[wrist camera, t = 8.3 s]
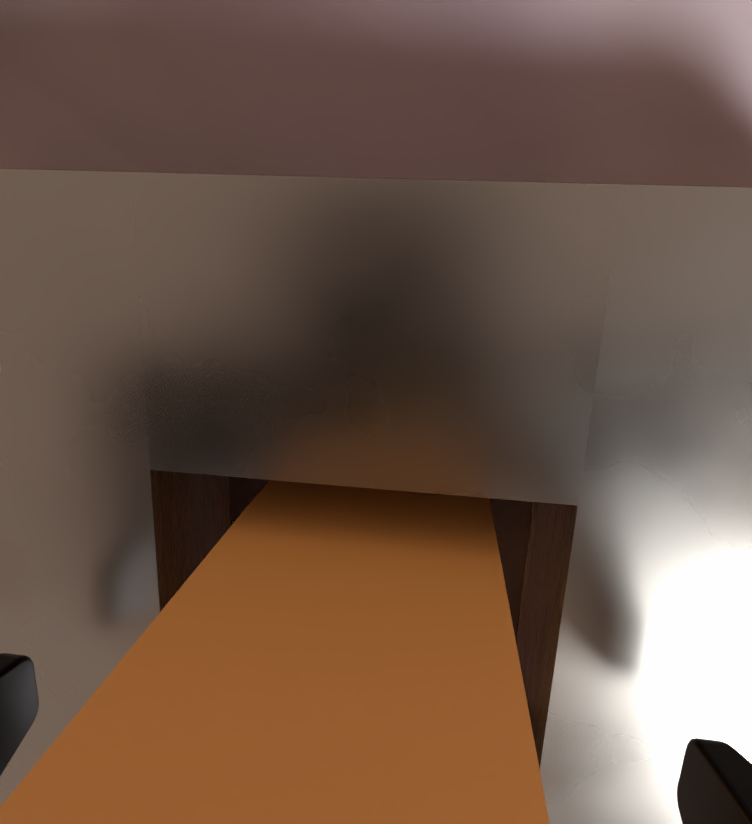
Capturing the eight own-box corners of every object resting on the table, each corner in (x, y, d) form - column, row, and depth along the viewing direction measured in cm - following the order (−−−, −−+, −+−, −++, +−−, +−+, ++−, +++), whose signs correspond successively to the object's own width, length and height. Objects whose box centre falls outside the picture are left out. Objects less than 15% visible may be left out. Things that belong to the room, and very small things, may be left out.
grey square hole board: (828, 216, 9) (1011, 193, 6) (672, 877, 13) (740, 1060, 10) (12, 192, 10) (-155, 165, 7) (84, 790, 14) (-9, 926, 11)
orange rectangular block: (486, 480, 11) (586, 1024, 3) (467, 658, 12) (507, 1396, 4) (282, 463, 11) (-80, 903, 3) (281, 636, 12) (2, 1270, 5)
